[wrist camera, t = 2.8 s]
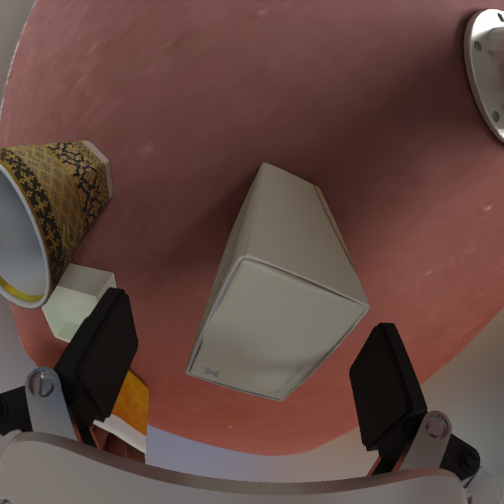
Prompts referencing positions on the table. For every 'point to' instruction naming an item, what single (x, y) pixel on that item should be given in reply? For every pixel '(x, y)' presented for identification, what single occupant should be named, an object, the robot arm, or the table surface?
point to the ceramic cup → (46, 213)
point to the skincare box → (278, 292)
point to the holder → (75, 299)
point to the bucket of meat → (126, 422)
